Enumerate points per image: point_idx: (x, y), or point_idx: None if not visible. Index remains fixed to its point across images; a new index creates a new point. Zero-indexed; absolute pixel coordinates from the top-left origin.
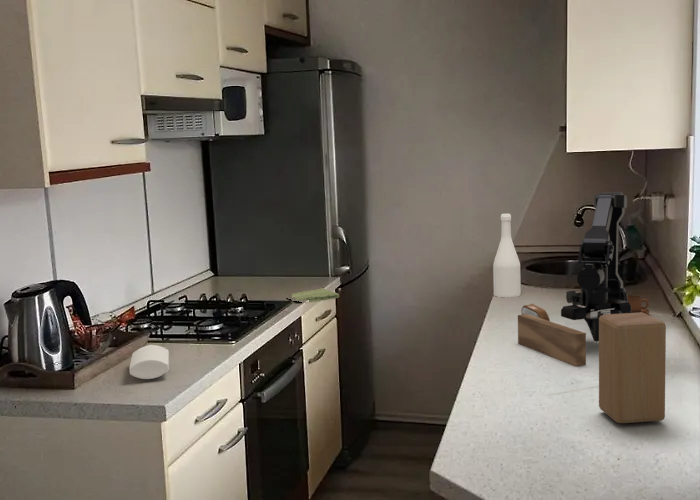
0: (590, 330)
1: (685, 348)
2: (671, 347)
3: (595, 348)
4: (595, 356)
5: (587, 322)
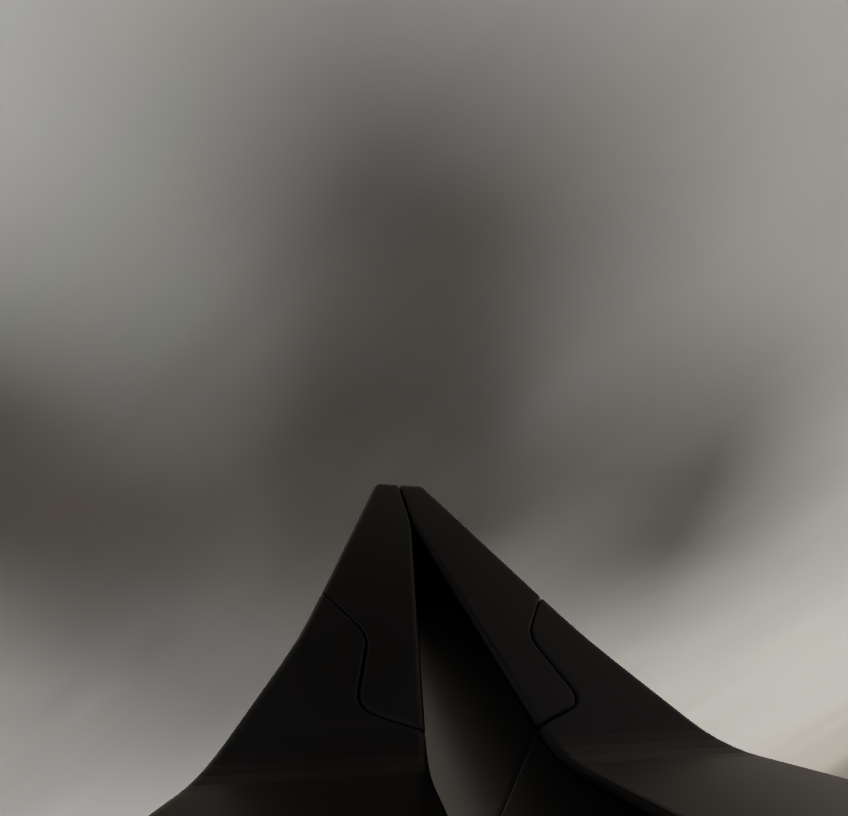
0: (329, 588)
1: (805, 767)
2: (787, 729)
3: (317, 509)
4: (88, 711)
5: (238, 769)
